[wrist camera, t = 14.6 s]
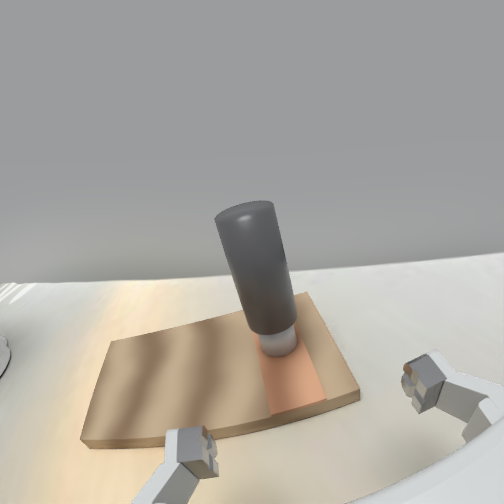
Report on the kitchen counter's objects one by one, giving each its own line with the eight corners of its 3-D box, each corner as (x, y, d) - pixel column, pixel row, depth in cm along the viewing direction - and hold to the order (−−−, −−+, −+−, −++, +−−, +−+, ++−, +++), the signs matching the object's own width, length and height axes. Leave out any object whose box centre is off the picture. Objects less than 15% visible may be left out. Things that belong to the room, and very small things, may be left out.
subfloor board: (89, 448, 19) (77, 437, 18) (117, 350, 31) (110, 339, 31) (359, 399, 19) (360, 386, 18) (308, 302, 32) (306, 289, 31)
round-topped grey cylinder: (260, 367, 23) (214, 229, 18) (253, 336, 26) (214, 211, 21) (308, 353, 23) (279, 211, 18) (296, 324, 26) (267, 196, 21)
